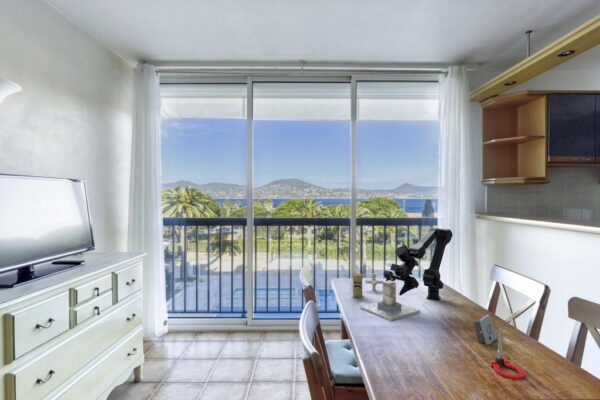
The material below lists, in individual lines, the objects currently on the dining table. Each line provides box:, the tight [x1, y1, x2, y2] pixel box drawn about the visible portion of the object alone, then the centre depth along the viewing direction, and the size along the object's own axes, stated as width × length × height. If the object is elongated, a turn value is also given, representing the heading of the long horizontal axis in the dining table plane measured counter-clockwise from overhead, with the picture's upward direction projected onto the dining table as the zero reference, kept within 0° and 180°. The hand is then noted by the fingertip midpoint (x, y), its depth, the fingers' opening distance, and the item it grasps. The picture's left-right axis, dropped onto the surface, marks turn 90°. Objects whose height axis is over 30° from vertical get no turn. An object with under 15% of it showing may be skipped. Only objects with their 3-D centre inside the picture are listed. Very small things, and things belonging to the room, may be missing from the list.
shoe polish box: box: [352, 273, 363, 299], centre depth 189 cm, size 5×5×12 cm
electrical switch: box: [472, 314, 498, 346], centre depth 133 cm, size 9×5×9 cm, turn 132°
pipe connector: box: [364, 272, 384, 292], centre depth 200 cm, size 10×10×10 cm
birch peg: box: [382, 280, 397, 306], centre depth 166 cm, size 4×4×13 cm
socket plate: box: [359, 300, 421, 322], centre depth 166 cm, size 20×20×4 cm
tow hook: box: [488, 327, 526, 380], centre depth 109 cm, size 8×13×9 cm
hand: (392, 292), depth 167 cm, fingers open, 9 cm apart
